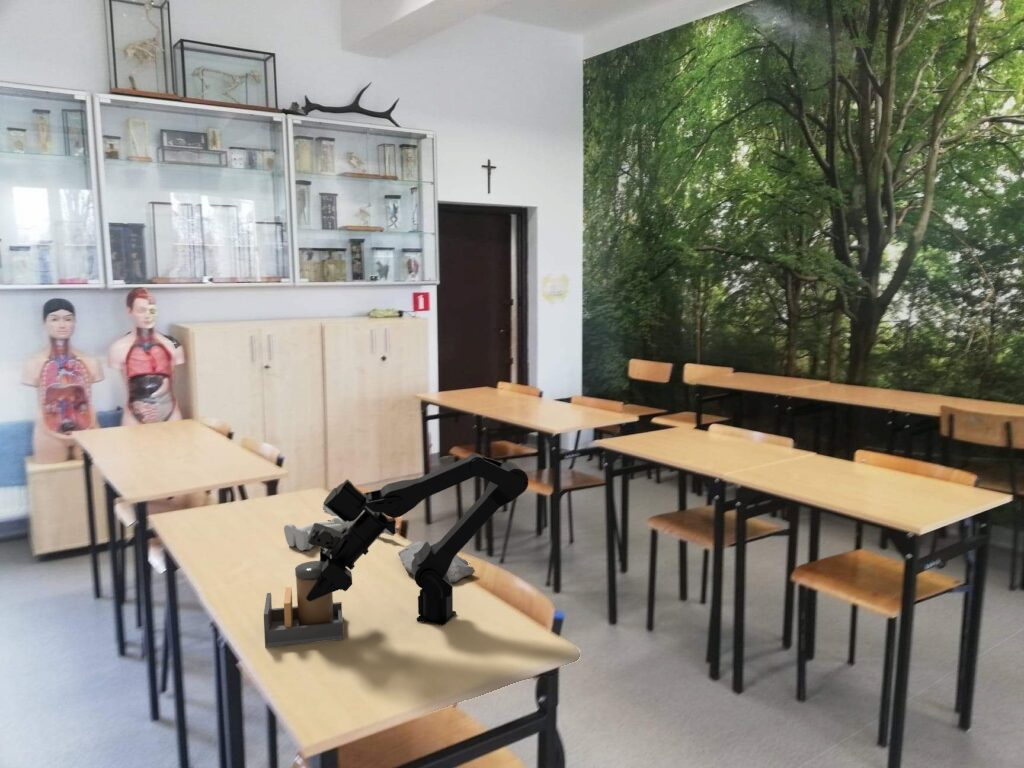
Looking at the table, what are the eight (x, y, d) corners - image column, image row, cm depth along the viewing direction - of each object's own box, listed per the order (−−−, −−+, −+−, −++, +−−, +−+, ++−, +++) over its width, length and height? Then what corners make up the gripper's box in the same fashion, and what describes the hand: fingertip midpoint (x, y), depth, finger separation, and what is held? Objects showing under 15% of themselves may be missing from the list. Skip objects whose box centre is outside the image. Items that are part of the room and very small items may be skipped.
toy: (258, 513, 218) (346, 484, 240) (261, 541, 219) (348, 511, 241) (330, 540, 196) (420, 506, 218) (333, 571, 198) (422, 535, 220)
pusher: (292, 619, 163) (291, 587, 162) (291, 636, 156) (290, 603, 155) (286, 619, 163) (285, 587, 162) (285, 637, 155) (283, 603, 154)
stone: (487, 578, 190) (431, 549, 210) (488, 556, 190) (431, 530, 209) (432, 592, 181) (379, 560, 200) (433, 569, 180) (379, 540, 199)
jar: (336, 615, 164) (334, 560, 163) (331, 631, 157) (328, 573, 156) (301, 617, 164) (298, 561, 162) (295, 633, 157) (291, 574, 155)
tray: (341, 616, 167) (341, 586, 166) (343, 639, 157) (342, 606, 156) (268, 624, 164) (267, 593, 163) (265, 647, 153) (263, 614, 152)
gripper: (330, 498, 167) (279, 552, 166) (331, 525, 149) (274, 586, 148) (369, 530, 170) (319, 584, 169) (375, 560, 152) (319, 621, 151)
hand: (307, 592), depth 159 cm, fingers closed on jar, 7 cm apart
